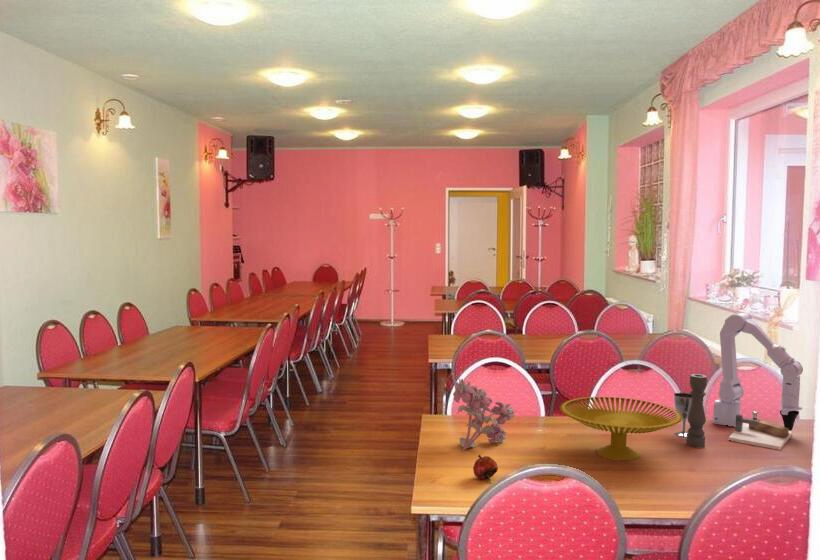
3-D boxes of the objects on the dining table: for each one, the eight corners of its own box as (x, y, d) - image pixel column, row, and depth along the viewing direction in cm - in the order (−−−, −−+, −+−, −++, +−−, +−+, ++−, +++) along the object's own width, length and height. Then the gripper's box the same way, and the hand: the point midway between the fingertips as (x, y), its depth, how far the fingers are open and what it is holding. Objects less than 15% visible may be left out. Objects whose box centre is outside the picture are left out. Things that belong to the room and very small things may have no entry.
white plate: (728, 440, 259) (728, 437, 259) (743, 426, 277) (743, 423, 277) (780, 449, 249) (780, 446, 249) (791, 434, 267) (792, 431, 267)
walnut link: (746, 427, 271) (746, 419, 271) (753, 425, 273) (753, 418, 272) (782, 437, 258) (782, 429, 258) (789, 436, 260) (789, 428, 259)
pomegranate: (500, 487, 217) (491, 459, 224) (503, 474, 212) (494, 446, 219) (477, 491, 216) (468, 463, 223) (479, 478, 211) (470, 450, 218)
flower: (509, 456, 234) (520, 383, 242) (442, 445, 238) (454, 372, 246) (509, 464, 252) (519, 395, 260) (447, 452, 256) (458, 385, 265)
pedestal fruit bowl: (595, 480, 218) (597, 432, 217) (538, 440, 257) (539, 399, 255) (707, 469, 229) (710, 423, 227) (636, 432, 267) (637, 393, 266)
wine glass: (670, 435, 264) (672, 396, 263) (673, 430, 271) (675, 391, 270) (693, 439, 260) (695, 398, 259) (696, 433, 267) (698, 394, 266)
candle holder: (706, 448, 250) (709, 378, 248) (687, 446, 251) (690, 377, 249) (702, 442, 256) (706, 374, 254) (684, 441, 257) (687, 373, 255)
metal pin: (750, 419, 270) (751, 412, 269) (752, 418, 271) (752, 410, 271) (757, 420, 268) (758, 413, 268) (759, 419, 270) (759, 411, 270)
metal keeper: (735, 430, 267) (736, 415, 266) (736, 429, 268) (737, 414, 268) (757, 434, 262) (757, 418, 262) (758, 433, 264) (759, 417, 263)
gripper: (797, 399, 255) (795, 436, 256) (807, 392, 266) (805, 428, 267) (775, 396, 260) (773, 432, 261) (786, 389, 271) (784, 424, 272)
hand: (788, 430), depth 264 cm, fingers closed
